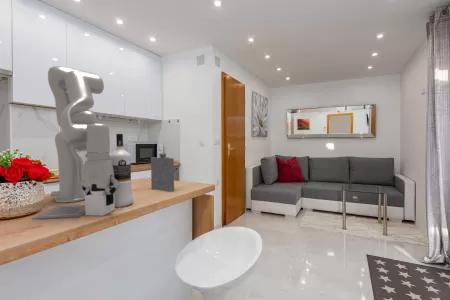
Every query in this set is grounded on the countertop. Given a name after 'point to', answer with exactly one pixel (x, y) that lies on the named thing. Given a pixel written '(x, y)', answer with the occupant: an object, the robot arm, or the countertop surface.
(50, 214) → the card
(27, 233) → the countertop surface
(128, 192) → the vodka
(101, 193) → the medicine bottle
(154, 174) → the hip flask
